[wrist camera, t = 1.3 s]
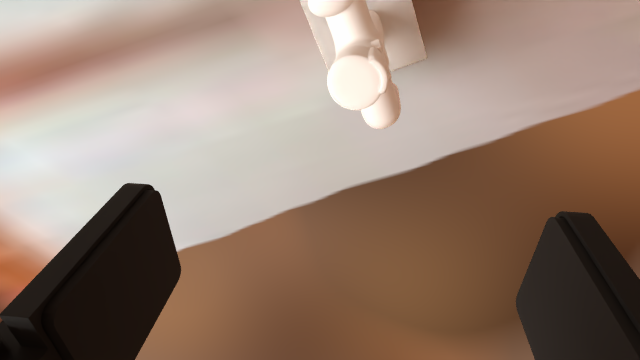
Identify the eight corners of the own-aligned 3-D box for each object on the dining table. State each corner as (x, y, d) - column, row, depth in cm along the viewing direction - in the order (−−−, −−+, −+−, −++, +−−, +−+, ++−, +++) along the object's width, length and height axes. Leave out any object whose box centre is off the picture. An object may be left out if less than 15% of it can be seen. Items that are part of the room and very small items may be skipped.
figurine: (344, 86, 35) (326, 181, 22) (300, -25, 30) (248, 16, 18) (426, 57, 32) (457, 144, 20) (392, -67, 28) (405, -55, 15)
